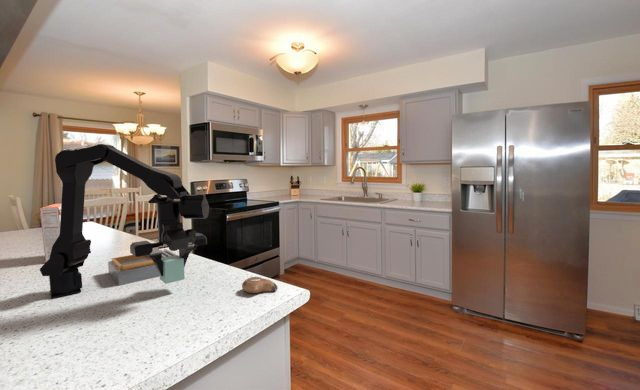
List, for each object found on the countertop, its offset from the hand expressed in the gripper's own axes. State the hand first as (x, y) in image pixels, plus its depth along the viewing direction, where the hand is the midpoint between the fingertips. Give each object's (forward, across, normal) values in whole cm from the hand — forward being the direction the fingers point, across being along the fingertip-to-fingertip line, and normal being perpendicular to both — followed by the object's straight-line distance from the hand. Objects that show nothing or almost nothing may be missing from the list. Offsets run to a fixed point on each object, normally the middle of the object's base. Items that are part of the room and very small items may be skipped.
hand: (171, 273), depth 88 cm
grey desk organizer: (+5, -1, +23) cm, 24 cm away
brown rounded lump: (+5, +17, -17) cm, 25 cm away
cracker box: (+5, -20, +66) cm, 69 cm away
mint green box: (+2, 0, +1) cm, 2 cm away
